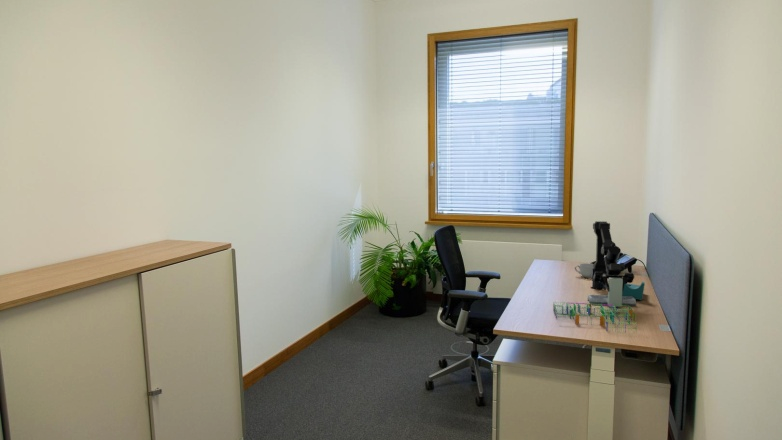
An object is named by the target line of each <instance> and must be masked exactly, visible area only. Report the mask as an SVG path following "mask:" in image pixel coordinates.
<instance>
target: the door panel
mask: <svg viewBox="0 0 782 440" xmlns="http://www.w3.org/2000/svg"><path fill="white" fill-rule="evenodd" d="M608 284H609V290H610V291H609V292H608V291H607V295H608V306H609V305H614V306H615V307H618V306H617V305H622V285H623V279H622V278H609V279H608Z"/></svg>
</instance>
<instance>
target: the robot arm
mask: <svg viewBox="0 0 782 440" xmlns="http://www.w3.org/2000/svg"><path fill="white" fill-rule="evenodd" d="M592 229H593V233H594V234H595V236H596V249H595V250H596V253H595V255H596V256H595V262H594V265H593V268H592V270H591V278H590V279H592V283H591V285H592V286H590V288H591V289H594V290H598V291H602V290H606V291H607V293H608V292H609V291H610V290H609V284H608V281H609V278H622V279H623V285H622V292H623V289H624V285H625V284H627V283H628V284H633V282H634V279H635V274H634V273H633V272H625V273H624V274H621V271H622V270H625V269H626V267H625V266H626V265H625V262H620V263H618V259H619V257H620V253H621V252H622V251H621V248H620V247H619V246H617V245H616V243H615V242H614V241H613V239H612V235H611V231H610V230H611V223H610V222H608V221H603V220H602V221H600V220H599V221H597V220H596V221H594V222H593V223H592ZM620 274H621V275H620ZM593 275H594V276H593Z"/></svg>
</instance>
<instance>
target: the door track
mask: <svg viewBox="0 0 782 440" xmlns="http://www.w3.org/2000/svg"><path fill="white" fill-rule="evenodd" d="M636 300H637V299H634V298H633V297H632V296H622V305H625V307H627V306H628V307H629V306H630V307H637V303H636ZM587 303H588V304H591V305H592V304H606V305H605V306H607V305H608V294H607V295H604V294H587ZM608 306H609V305H608Z"/></svg>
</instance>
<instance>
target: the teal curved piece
mask: <svg viewBox="0 0 782 440" xmlns="http://www.w3.org/2000/svg"><path fill="white" fill-rule="evenodd" d="M644 291H645V281H641V284H640V285H638V284H633V283H627V284H625V285H624V289H623V292H622V296H632V297H633V298H634V299H635V300H640V301H643V297H644Z"/></svg>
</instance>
